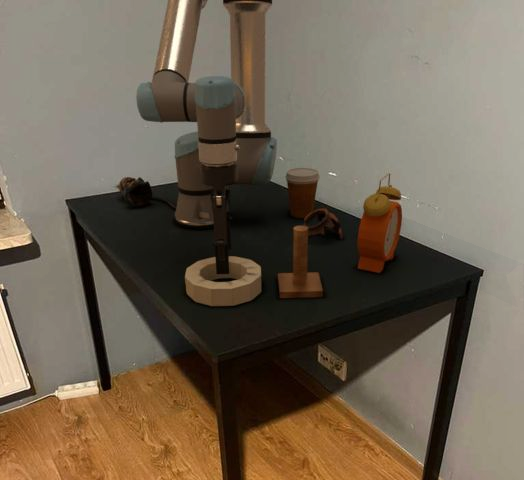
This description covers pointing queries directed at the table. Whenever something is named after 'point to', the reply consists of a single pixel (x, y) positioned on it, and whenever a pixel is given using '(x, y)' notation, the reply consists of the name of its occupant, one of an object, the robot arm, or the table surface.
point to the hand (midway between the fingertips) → (224, 260)
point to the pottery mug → (322, 222)
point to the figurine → (135, 191)
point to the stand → (300, 271)
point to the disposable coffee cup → (302, 190)
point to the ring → (223, 292)
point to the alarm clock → (379, 228)
